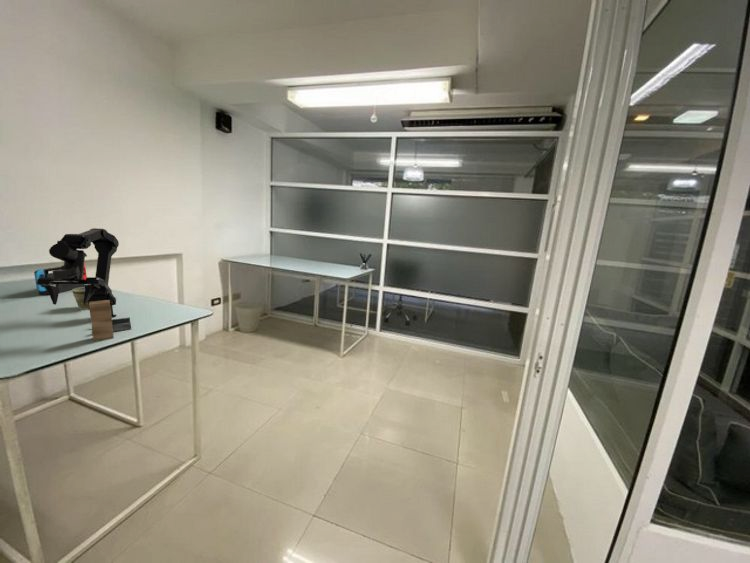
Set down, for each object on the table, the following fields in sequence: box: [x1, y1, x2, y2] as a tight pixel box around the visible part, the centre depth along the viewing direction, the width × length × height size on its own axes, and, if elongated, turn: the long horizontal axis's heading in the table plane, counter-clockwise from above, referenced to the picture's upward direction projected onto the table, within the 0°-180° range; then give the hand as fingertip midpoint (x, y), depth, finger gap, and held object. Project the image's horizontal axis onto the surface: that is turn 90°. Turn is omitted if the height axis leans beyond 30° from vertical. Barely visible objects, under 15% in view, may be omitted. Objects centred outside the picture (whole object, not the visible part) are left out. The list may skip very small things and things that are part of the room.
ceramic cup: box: [71, 286, 90, 311], centre depth 154 cm, size 13×10×10 cm
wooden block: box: [89, 300, 114, 342], centre depth 123 cm, size 4×6×15 cm, turn 130°
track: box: [112, 316, 132, 333], centre depth 134 cm, size 12×8×3 cm
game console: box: [33, 264, 88, 296], centre depth 179 cm, size 28×6×15 cm, turn 179°
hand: (69, 304), depth 119 cm, fingers open, 9 cm apart
